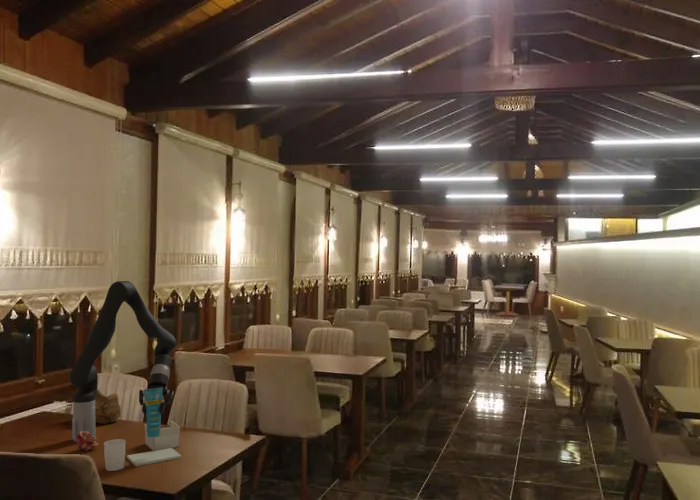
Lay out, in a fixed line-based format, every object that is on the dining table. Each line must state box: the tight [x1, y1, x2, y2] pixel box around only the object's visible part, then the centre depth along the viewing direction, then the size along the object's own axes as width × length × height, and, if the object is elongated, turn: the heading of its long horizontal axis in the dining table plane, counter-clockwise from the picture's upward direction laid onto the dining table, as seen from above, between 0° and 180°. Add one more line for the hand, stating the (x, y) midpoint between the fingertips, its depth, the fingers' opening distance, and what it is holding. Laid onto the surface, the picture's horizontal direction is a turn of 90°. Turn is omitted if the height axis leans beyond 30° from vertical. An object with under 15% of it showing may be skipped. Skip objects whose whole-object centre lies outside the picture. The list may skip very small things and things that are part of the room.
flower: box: [76, 431, 99, 452], centre depth 267 cm, size 10×9×8 cm
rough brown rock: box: [95, 388, 122, 425], centre depth 314 cm, size 23×17×15 cm
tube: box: [143, 387, 163, 437], centre depth 255 cm, size 7×5×19 cm, turn 124°
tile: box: [126, 448, 182, 467], centre depth 254 cm, size 18×13×1 cm
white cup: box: [103, 438, 127, 472], centre depth 242 cm, size 8×8×10 cm
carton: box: [144, 420, 181, 451], centre depth 272 cm, size 12×14×8 cm
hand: (152, 412), depth 253 cm, fingers closed on tube, 5 cm apart
